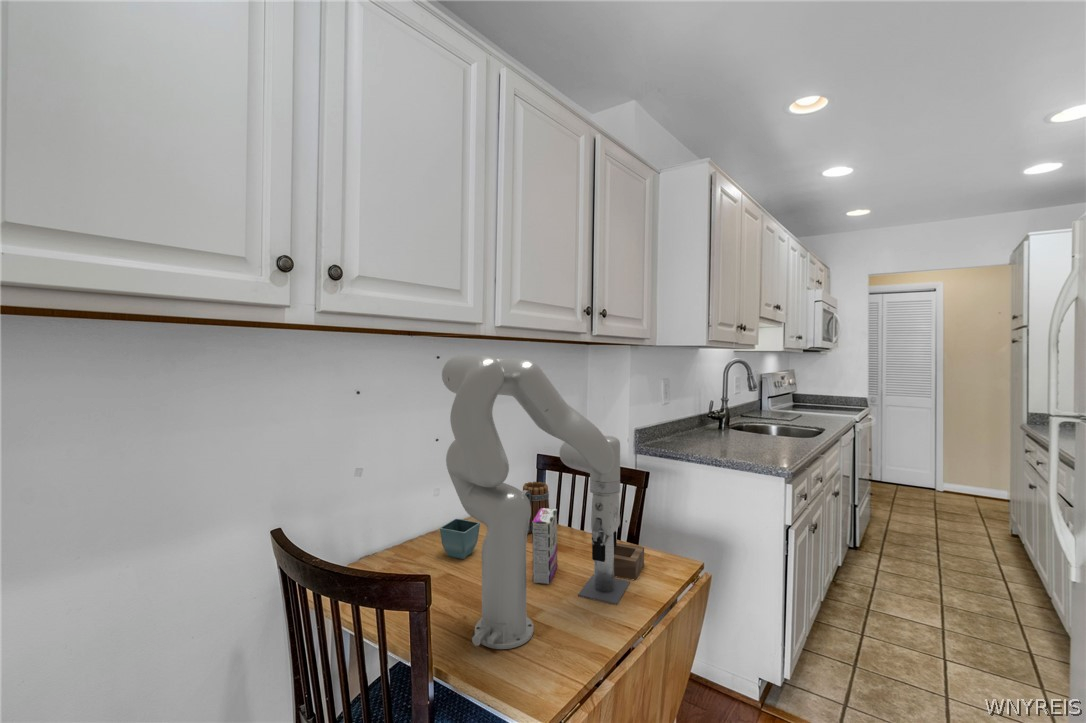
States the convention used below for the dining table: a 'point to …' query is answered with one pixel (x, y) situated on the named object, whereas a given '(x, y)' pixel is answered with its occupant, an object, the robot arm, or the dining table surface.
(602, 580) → the metal peg
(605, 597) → the rubber mat
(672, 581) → the dining table surface
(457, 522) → the flower pot
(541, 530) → the candy bar box
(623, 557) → the eye block
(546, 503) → the mug
